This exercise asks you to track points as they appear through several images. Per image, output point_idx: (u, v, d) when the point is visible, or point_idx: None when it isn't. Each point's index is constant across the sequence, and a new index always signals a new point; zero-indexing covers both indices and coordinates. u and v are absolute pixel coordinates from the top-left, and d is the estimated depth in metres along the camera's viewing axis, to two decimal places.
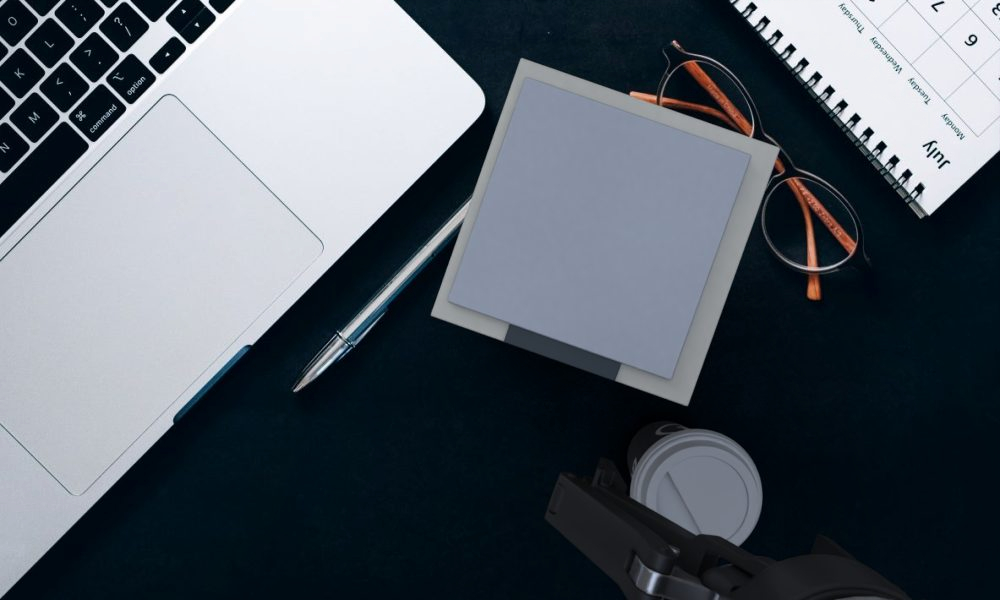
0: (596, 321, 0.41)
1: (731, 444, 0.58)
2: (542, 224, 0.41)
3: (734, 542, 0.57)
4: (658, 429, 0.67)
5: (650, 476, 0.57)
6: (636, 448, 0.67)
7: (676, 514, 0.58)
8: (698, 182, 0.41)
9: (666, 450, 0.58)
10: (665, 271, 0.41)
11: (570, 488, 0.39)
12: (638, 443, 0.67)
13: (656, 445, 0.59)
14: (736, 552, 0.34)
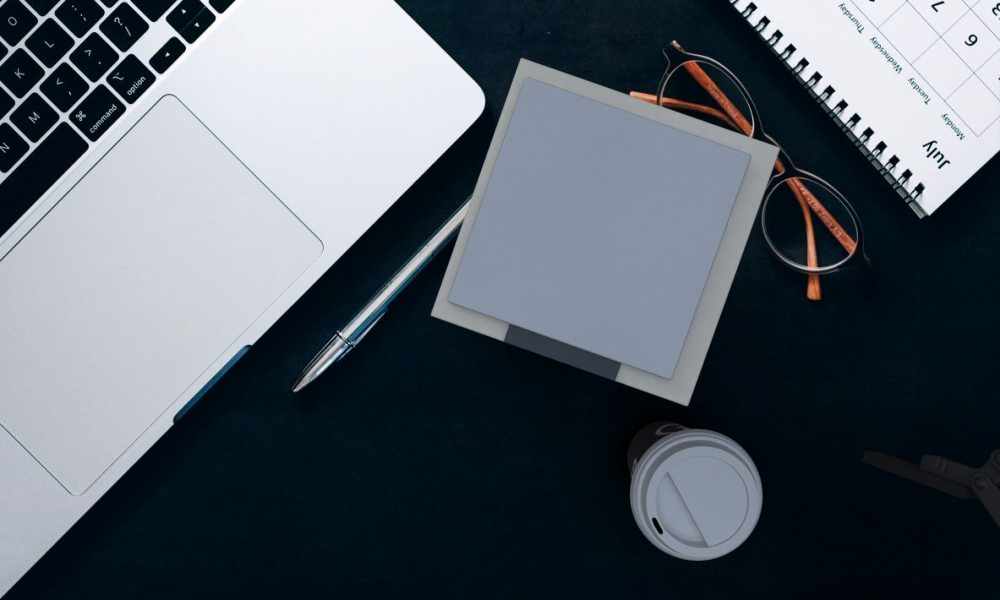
0: (596, 321, 0.41)
1: (731, 444, 0.58)
2: (542, 224, 0.41)
3: (734, 542, 0.57)
4: (658, 429, 0.67)
5: (650, 476, 0.57)
6: (636, 448, 0.67)
7: (676, 514, 0.58)
8: (698, 182, 0.41)
9: (666, 450, 0.58)
10: (665, 271, 0.41)
11: None
12: (638, 443, 0.67)
13: (656, 445, 0.59)
14: None
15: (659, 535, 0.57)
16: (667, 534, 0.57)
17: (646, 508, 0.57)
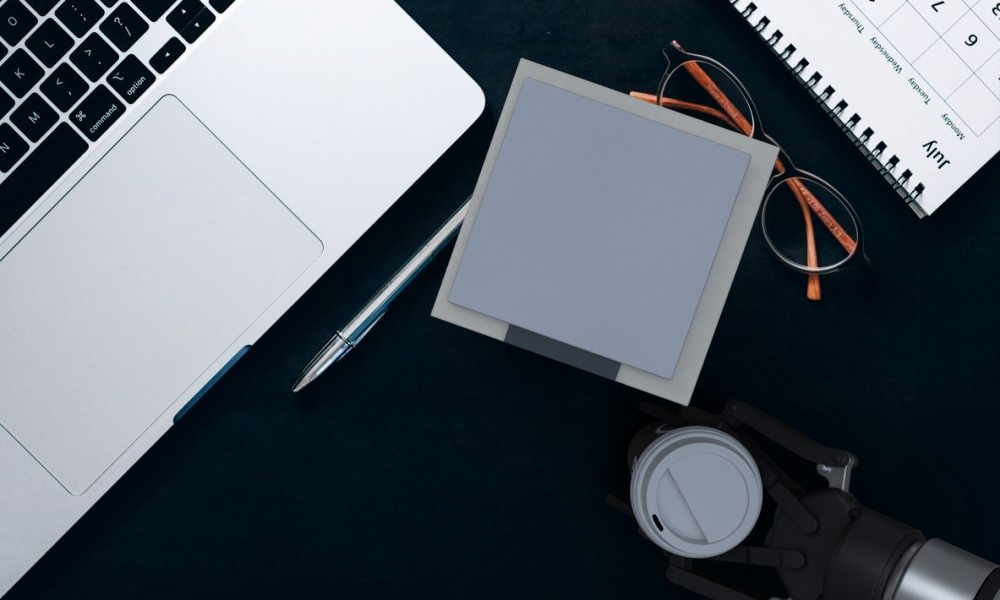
0: (596, 321, 0.41)
1: (731, 441, 0.58)
2: (542, 224, 0.41)
3: (734, 539, 0.57)
4: (658, 428, 0.67)
5: (650, 473, 0.57)
6: (636, 447, 0.67)
7: (676, 511, 0.58)
8: (698, 182, 0.41)
9: (666, 447, 0.58)
10: (665, 271, 0.41)
11: (760, 410, 0.62)
12: (638, 442, 0.67)
13: (656, 442, 0.59)
14: None
15: (659, 532, 0.57)
16: (667, 531, 0.57)
17: (646, 505, 0.57)
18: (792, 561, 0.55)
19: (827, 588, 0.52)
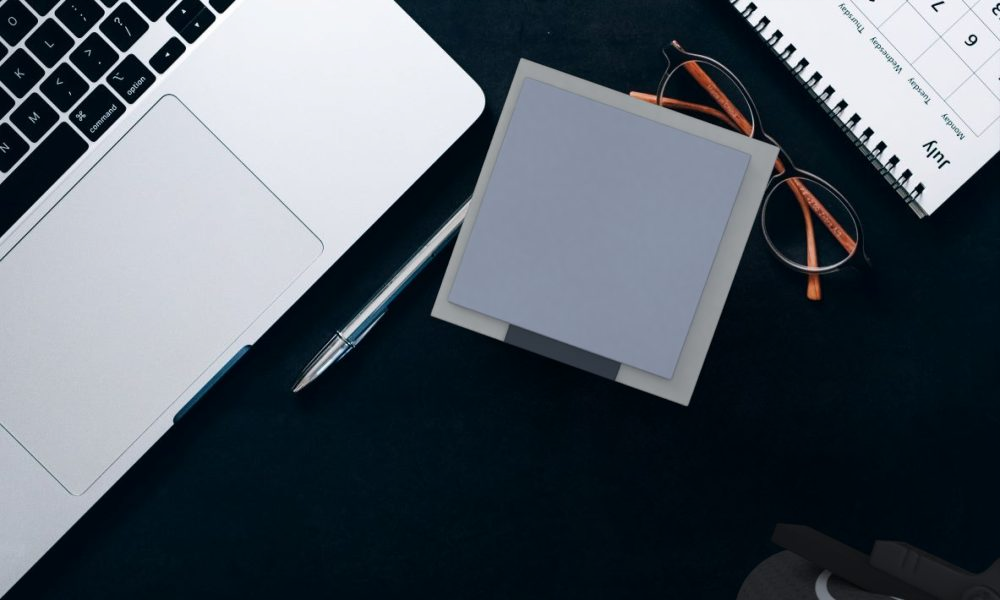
0: (596, 321, 0.41)
1: None
2: (542, 224, 0.41)
3: None
4: (818, 584, 0.31)
5: None
6: None
7: None
8: (698, 182, 0.41)
9: None
10: (665, 271, 0.41)
11: None
12: None
13: None
14: None
15: None
16: None
17: None
18: None
19: None
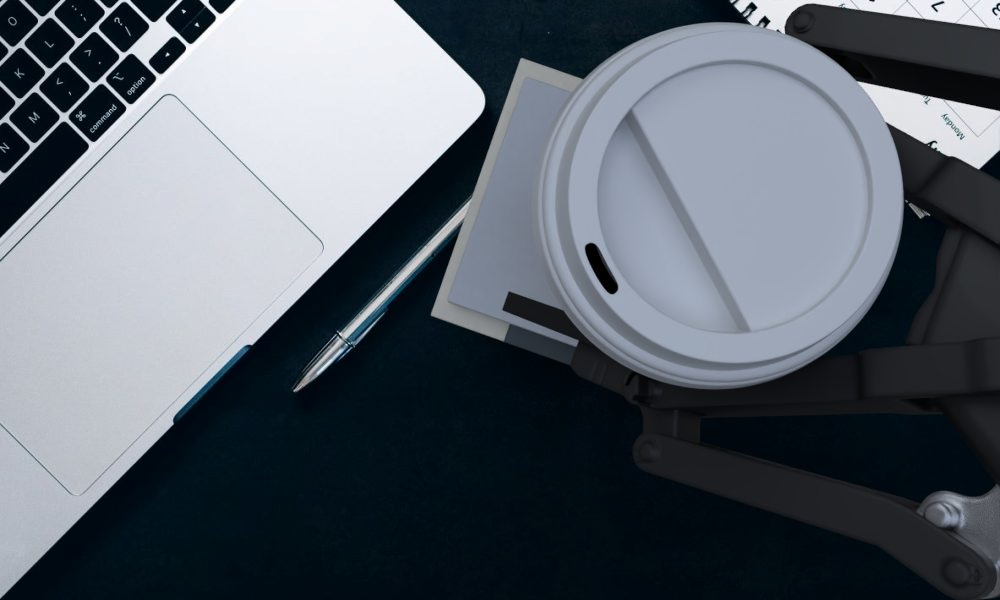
0: None
1: (816, 50, 0.20)
2: None
3: (830, 317, 0.19)
4: None
5: (581, 125, 0.20)
6: None
7: (658, 252, 0.20)
8: None
9: (630, 62, 0.20)
10: None
11: None
12: None
13: (603, 63, 0.21)
14: None
15: (607, 297, 0.19)
16: (630, 293, 0.19)
17: (569, 217, 0.19)
18: None
19: None
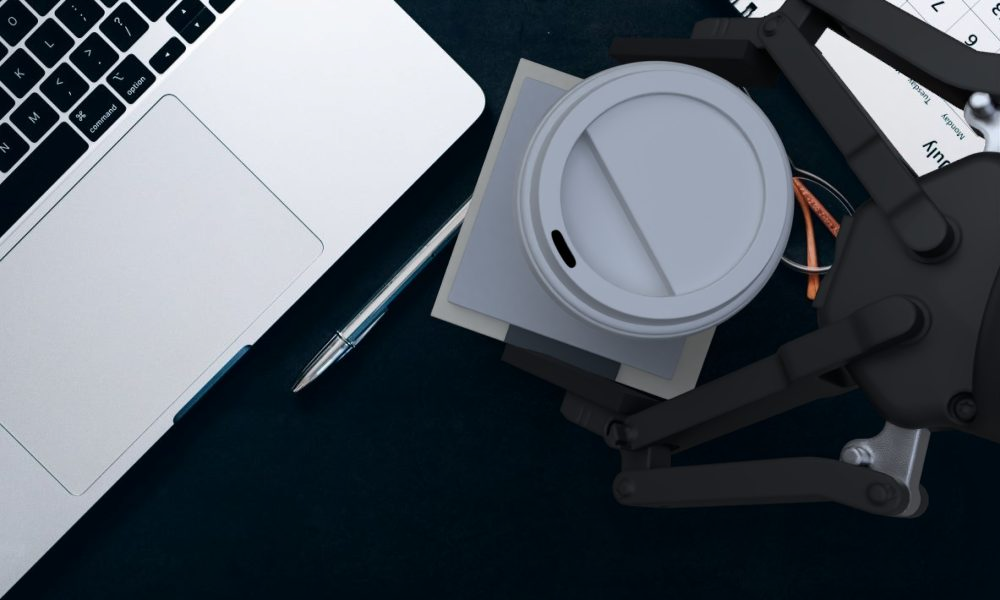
0: None
1: (727, 82, 0.27)
2: None
3: (734, 284, 0.26)
4: None
5: (548, 141, 0.26)
6: None
7: (608, 236, 0.27)
8: None
9: (586, 93, 0.27)
10: None
11: None
12: None
13: (566, 92, 0.27)
14: None
15: (568, 270, 0.26)
16: (585, 267, 0.26)
17: (539, 210, 0.26)
18: (886, 321, 0.23)
19: (991, 351, 0.20)
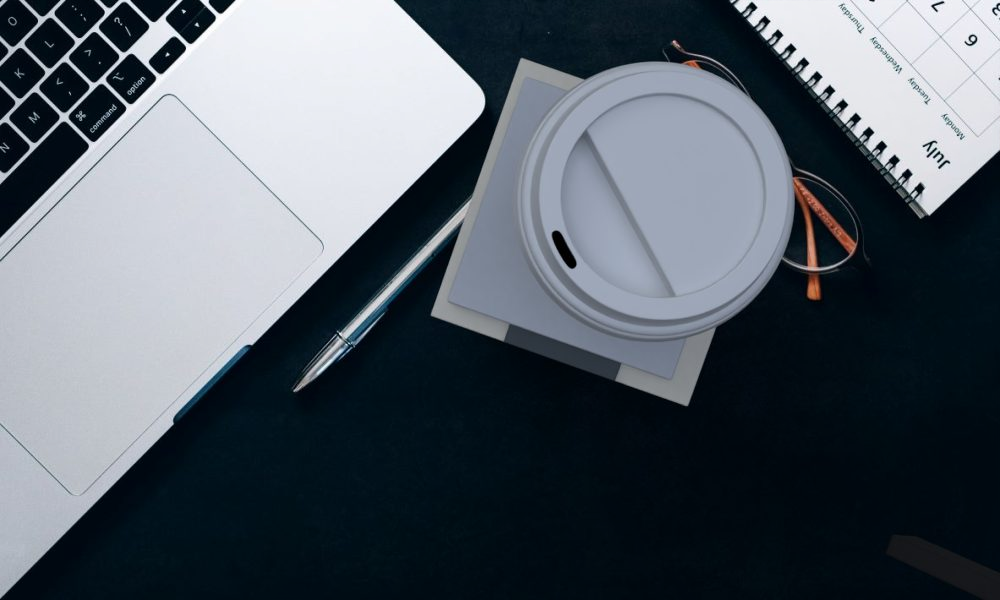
0: None
1: (728, 83, 0.27)
2: None
3: (734, 285, 0.26)
4: None
5: (549, 142, 0.26)
6: None
7: (609, 237, 0.27)
8: None
9: (586, 93, 0.27)
10: None
11: None
12: None
13: (567, 93, 0.27)
14: None
15: (568, 271, 0.26)
16: (585, 267, 0.26)
17: (539, 211, 0.26)
18: None
19: None
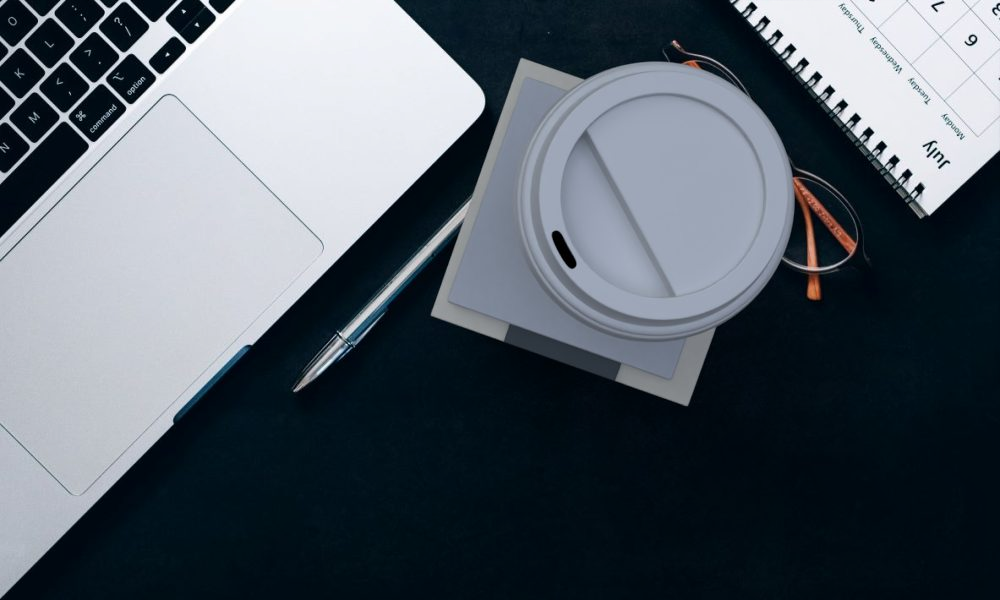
0: None
1: (727, 83, 0.27)
2: None
3: (734, 285, 0.26)
4: None
5: (549, 142, 0.26)
6: None
7: (609, 237, 0.27)
8: None
9: (586, 93, 0.27)
10: None
11: None
12: None
13: (567, 93, 0.27)
14: None
15: (568, 271, 0.26)
16: (585, 267, 0.26)
17: (539, 211, 0.26)
18: None
19: None
